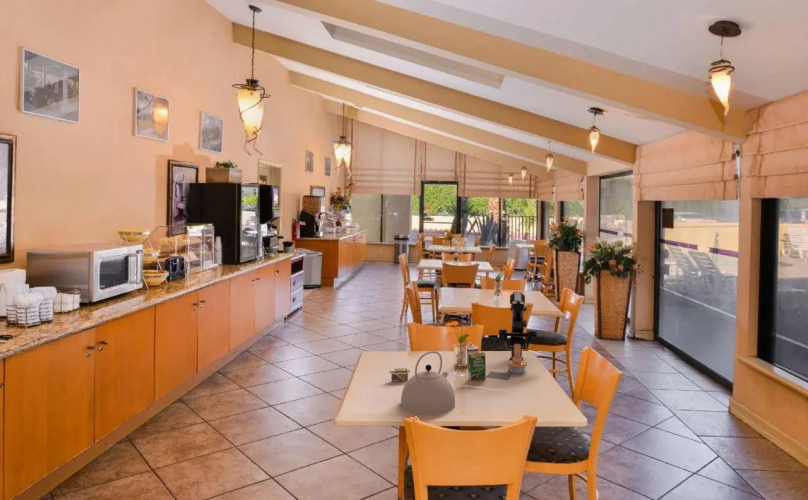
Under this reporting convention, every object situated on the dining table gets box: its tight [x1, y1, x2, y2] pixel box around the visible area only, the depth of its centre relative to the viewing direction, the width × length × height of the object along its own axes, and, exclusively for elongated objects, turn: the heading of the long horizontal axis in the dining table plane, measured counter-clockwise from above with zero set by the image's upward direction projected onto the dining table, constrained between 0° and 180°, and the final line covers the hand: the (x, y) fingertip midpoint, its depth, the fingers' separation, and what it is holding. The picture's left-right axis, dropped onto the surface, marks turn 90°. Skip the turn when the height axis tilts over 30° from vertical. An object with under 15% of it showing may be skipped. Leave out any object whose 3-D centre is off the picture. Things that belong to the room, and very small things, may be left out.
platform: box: [388, 367, 411, 382], centre depth 272 cm, size 12×18×7 cm, turn 102°
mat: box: [486, 371, 513, 381], centre depth 281 cm, size 11×11×1 cm
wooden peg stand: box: [506, 344, 528, 368], centre depth 288 cm, size 10×10×10 cm
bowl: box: [508, 366, 526, 374], centre depth 288 cm, size 8×8×4 cm
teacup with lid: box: [466, 341, 480, 366], centre depth 303 cm, size 12×9×12 cm
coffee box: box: [468, 352, 487, 381], centre depth 274 cm, size 8×3×13 cm, turn 107°
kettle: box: [400, 350, 456, 415], centre depth 241 cm, size 25×23×22 cm
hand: (517, 349), depth 287 cm, fingers open, 9 cm apart
